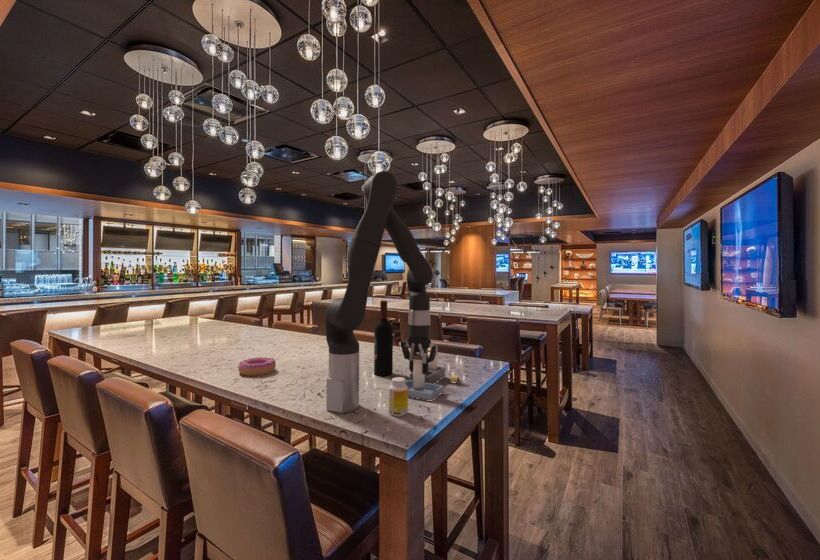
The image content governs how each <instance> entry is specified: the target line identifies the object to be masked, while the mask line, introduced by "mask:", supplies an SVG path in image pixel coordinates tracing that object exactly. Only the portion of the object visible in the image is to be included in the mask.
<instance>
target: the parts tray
mask: <svg viewBox="0 0 820 560" xmlns="http://www.w3.org/2000/svg"><path fill="white" fill-rule="evenodd" d="M405 385H407V386H408V397H414V398H419V399H424V400H433V399H434V398H436V397H437V396H438V395H439V394H440V393H442V392H443V393H444V385H442V384H441V385H440V384H437V383H436V384H430V383H425V390H423V391H415V390H413V381H412V380H410V379H407V380H405ZM443 393H442V394H443ZM438 397H439V396H438ZM438 397H437V398H438ZM414 398H413V399H414ZM437 398H436V399H437ZM419 399H418V400H419ZM424 400H423V401H424ZM434 400H435V399H434ZM434 400H433V401H434Z"/></svg>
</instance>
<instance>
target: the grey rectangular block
mask: <svg viewBox="0 0 820 560" xmlns="http://www.w3.org/2000/svg"><path fill="white" fill-rule="evenodd" d="M444 376H445V377H446V367H443V366H438V370H437V371H434V370H428V372H427V373H426V374H425V383H430V384H434V383H436V382H437V381H438V380H440V379H441V378H443V377H444ZM409 380H412V381H413V372H410V373H409ZM436 384H437V383H436Z"/></svg>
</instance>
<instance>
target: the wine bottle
mask: <svg viewBox="0 0 820 560" xmlns="http://www.w3.org/2000/svg"><path fill="white" fill-rule="evenodd" d="M379 305H380V306H379V308H380V310H379V311H380V312H379V313H380V318H379V321H378V322H377V323H375V325H374V328H373V329H374V330H373V331H374V336H373V337H374V340H373V341H374V347H373V348H374V349H373V353H374V354H373V356H374V359H373V363H374V364H373V375H374V376H375V375H376V377H382V378H384V377H385V376H386V377H390V375H391V376H392V375H393V374H394V373H393V369H394V367H393V366H394V365H393V364H394V363H393V361H394V360H393V359H394V357H393V356H394V355H393V351H394V349H393V348H394V347H393V346H394V340H393V339H394V328H393V325H392V323H391V322H390V321H388V300H380V302H379Z"/></svg>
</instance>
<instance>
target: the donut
mask: <svg viewBox="0 0 820 560" xmlns="http://www.w3.org/2000/svg"><path fill="white" fill-rule="evenodd" d="M276 365H277V363H276V360H275V358H272V357H261V356H260V357H251V358H248V359H243V360H242V361H239V364H238V367H237V368H238V372H239V374H241V376H247V377H257V376H259V375H260V376H263V375H264V376H265V375H269V374H272V373H273V372H274V371H275V370H276ZM268 373H269V374H268Z"/></svg>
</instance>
